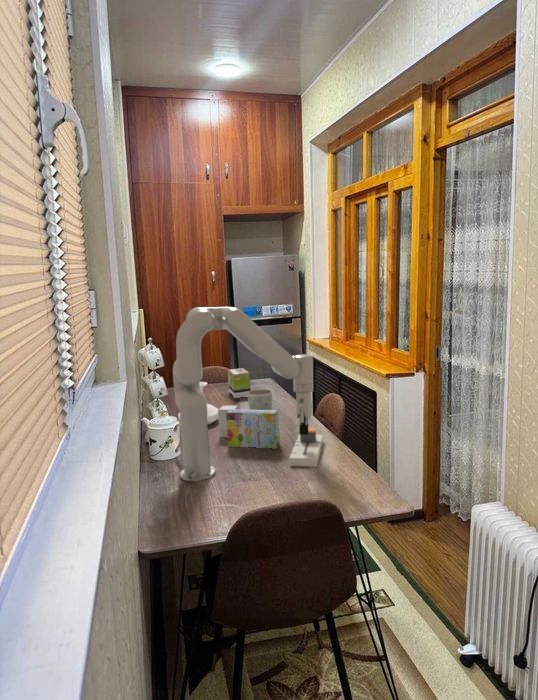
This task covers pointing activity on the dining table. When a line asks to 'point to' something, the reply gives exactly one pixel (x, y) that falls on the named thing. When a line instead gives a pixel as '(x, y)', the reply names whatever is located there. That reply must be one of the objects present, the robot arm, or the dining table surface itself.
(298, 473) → the dining table surface
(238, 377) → the tea box
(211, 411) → the candle holder
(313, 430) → the fader knob
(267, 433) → the snack box
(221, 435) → the supplement box
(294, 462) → the fader console
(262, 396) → the planter
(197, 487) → the dining table surface
